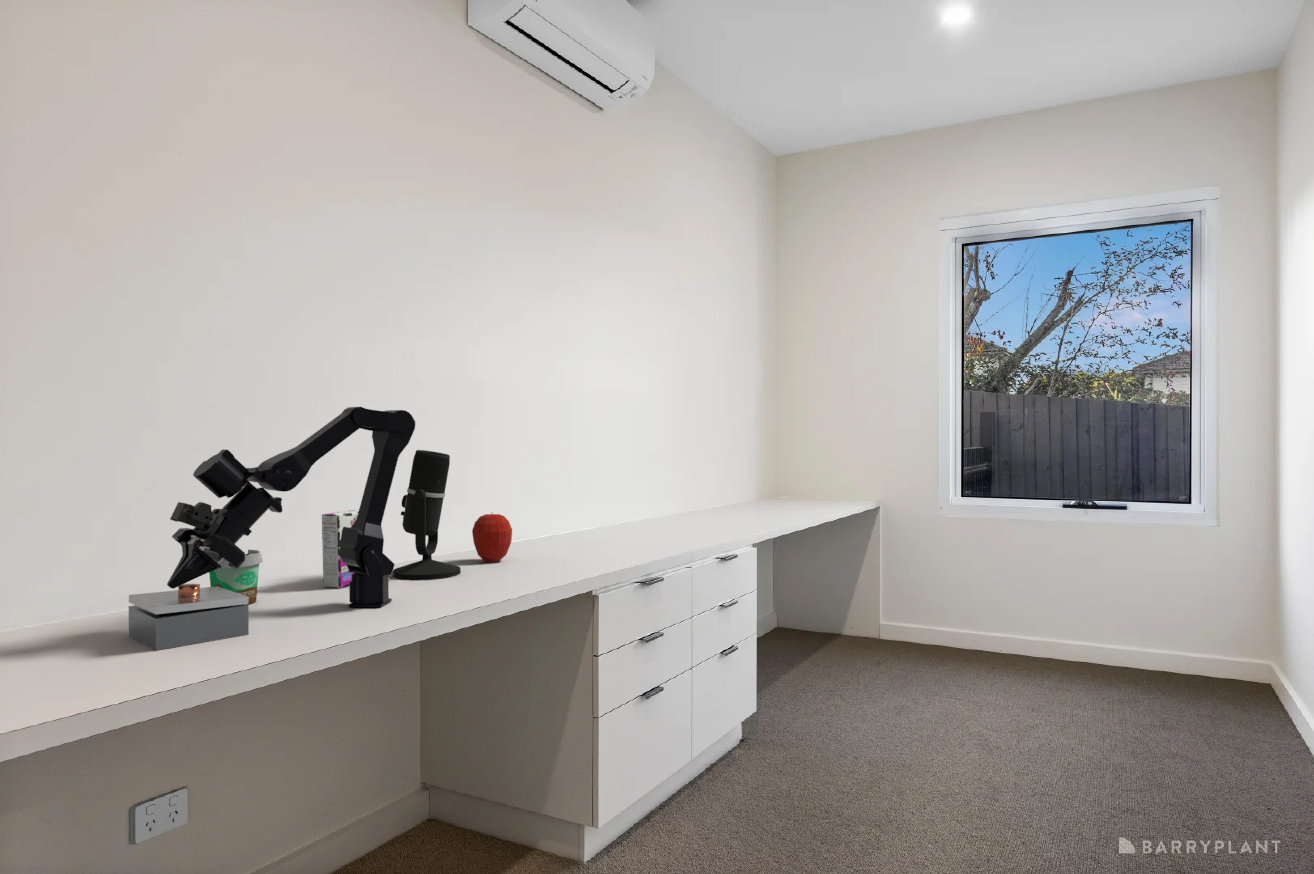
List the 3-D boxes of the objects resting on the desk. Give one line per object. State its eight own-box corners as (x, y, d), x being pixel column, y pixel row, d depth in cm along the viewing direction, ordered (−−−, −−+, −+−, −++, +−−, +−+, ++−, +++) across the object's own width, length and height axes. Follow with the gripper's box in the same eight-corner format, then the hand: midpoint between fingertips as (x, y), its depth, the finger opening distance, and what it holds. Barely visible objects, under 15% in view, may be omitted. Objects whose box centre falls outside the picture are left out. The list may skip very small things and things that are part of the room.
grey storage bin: (217, 621, 149) (217, 593, 149) (248, 634, 140) (248, 604, 140) (128, 635, 139) (128, 606, 139) (155, 650, 130) (155, 618, 130)
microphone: (405, 568, 207) (405, 449, 207) (467, 568, 206) (467, 449, 206) (382, 579, 191) (382, 450, 191) (450, 580, 191) (449, 450, 190)
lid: (217, 592, 149) (217, 576, 149) (248, 603, 140) (248, 586, 140) (128, 602, 139) (129, 584, 139) (155, 614, 130) (156, 595, 130)
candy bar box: (354, 578, 192) (354, 508, 192) (372, 580, 191) (372, 509, 191) (320, 587, 182) (320, 513, 182) (339, 589, 180) (339, 514, 180)
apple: (519, 559, 221) (519, 507, 221) (497, 565, 212) (497, 511, 212) (487, 557, 225) (487, 506, 225) (464, 562, 216) (464, 509, 216)
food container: (234, 610, 158) (234, 558, 158) (206, 609, 159) (206, 558, 159) (276, 598, 170) (276, 549, 170) (250, 597, 172) (249, 549, 172)
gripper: (184, 482, 147) (113, 550, 139) (224, 487, 135) (148, 562, 127) (231, 522, 153) (165, 590, 145) (273, 531, 141) (204, 605, 133)
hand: (169, 586), depth 137 cm, fingers closed
